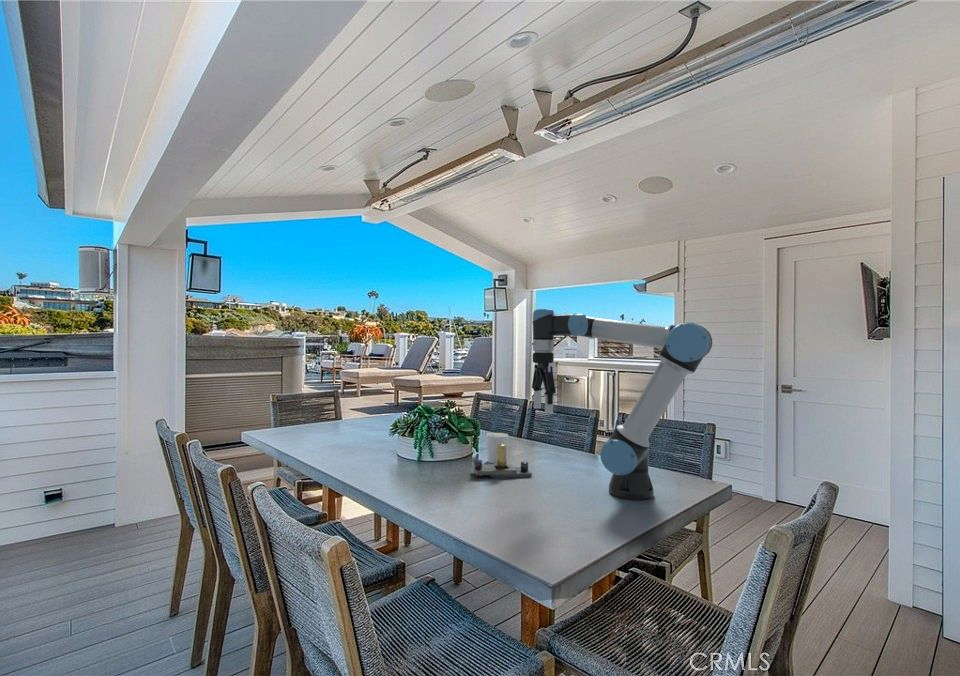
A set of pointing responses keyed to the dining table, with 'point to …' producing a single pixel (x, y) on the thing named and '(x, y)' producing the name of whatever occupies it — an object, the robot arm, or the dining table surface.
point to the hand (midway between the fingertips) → (543, 411)
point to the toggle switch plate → (501, 470)
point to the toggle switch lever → (501, 456)
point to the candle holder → (495, 445)
